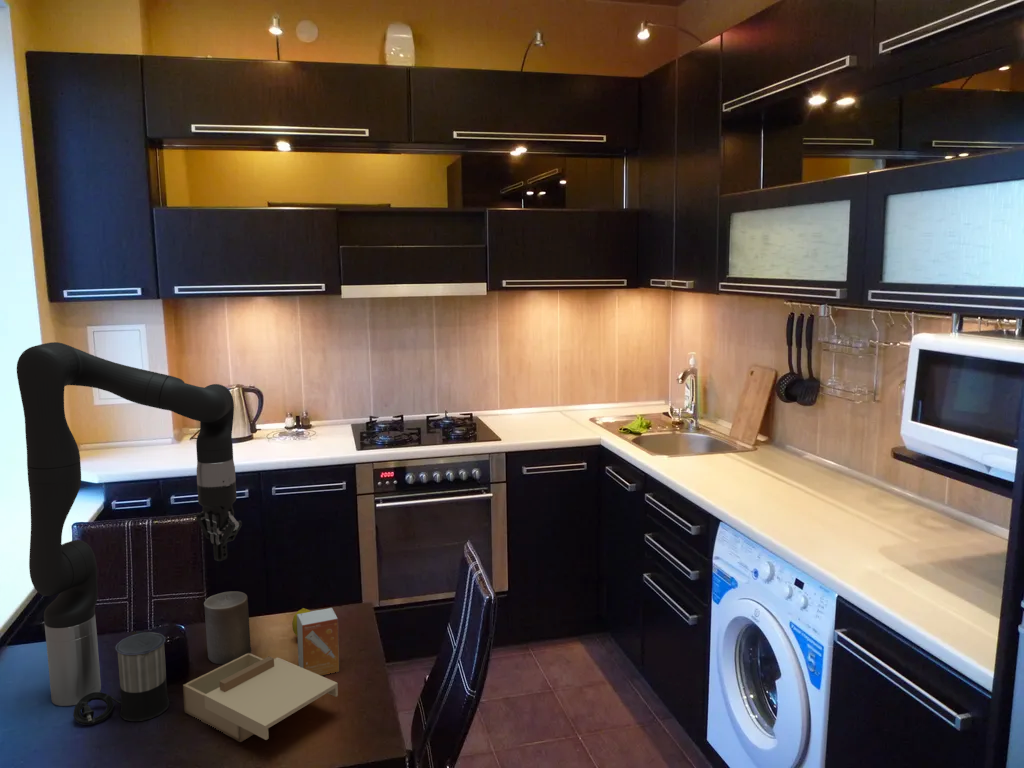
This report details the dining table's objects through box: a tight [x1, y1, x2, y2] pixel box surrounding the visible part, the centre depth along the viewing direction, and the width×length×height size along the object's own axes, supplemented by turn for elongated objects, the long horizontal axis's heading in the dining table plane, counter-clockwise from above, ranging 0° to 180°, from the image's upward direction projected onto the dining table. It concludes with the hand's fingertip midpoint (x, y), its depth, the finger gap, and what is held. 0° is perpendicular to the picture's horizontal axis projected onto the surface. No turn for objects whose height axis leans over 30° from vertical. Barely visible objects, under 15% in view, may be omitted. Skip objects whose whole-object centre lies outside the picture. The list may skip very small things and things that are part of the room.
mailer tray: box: [182, 652, 263, 743], centre depth 156 cm, size 18×16×6 cm
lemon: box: [291, 607, 312, 637], centre depth 186 cm, size 6×6×8 cm
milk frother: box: [72, 631, 170, 726], centre depth 154 cm, size 14×16×15 cm
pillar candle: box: [203, 590, 252, 665], centre depth 178 cm, size 10×10×15 cm
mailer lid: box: [204, 655, 339, 741], centre depth 151 cm, size 18×18×5 cm
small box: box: [297, 607, 340, 676], centre depth 171 cm, size 8×6×13 cm
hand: (220, 559), depth 160 cm, fingers closed
